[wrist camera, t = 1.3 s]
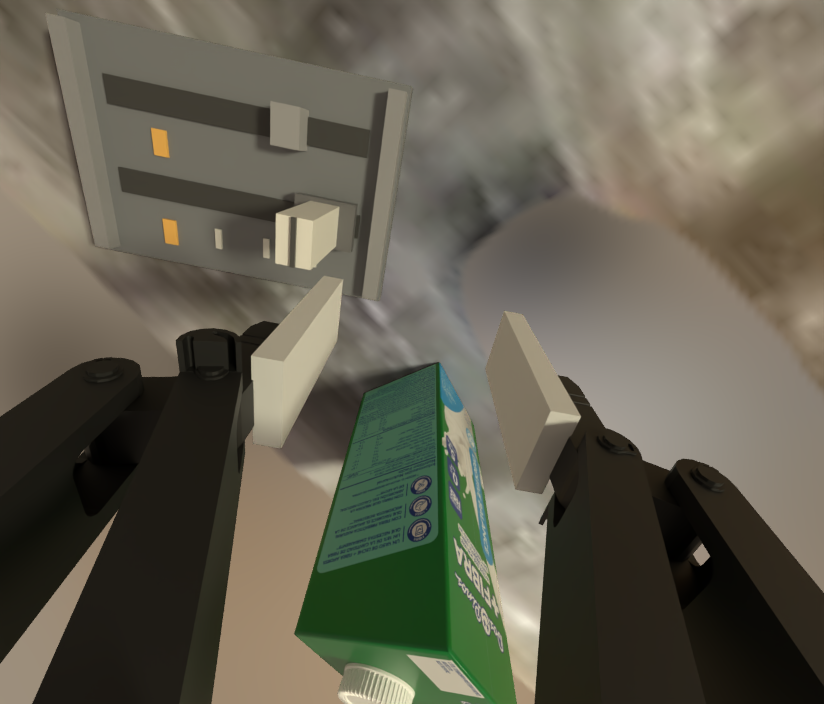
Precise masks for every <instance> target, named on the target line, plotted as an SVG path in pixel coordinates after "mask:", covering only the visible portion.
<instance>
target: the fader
mask: <svg viewBox="0 0 824 704" xmlns="http://www.w3.org/2000/svg"><path fill="white" fill-rule="evenodd" d="M357 208H358V204H355V203H350V202H345V201H340V200H335V199H330V198H325V197H320V196H315V195H311V194H306V193H301V192H298V193H295V201H294V207H292V208H289V209H287V210H284V211H281V212H278V213H276V248H275V263H276V264H281V265H286V266H289V267H291V268H295V267H297V268H302V269H307V270H311V269H312V268H313V267H314V266H315V265H316V264H318V263H319V262H320V261H321V260H322V259H323V258H324V257H325V256H326V255H327V254H328V253H329V252H330V251H331V250H338V251H343V252H348V253H351V252H352V251H353V245H354V235H355V226H356V217H357Z"/></svg>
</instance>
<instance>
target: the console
mask: <svg viewBox="0 0 824 704" xmlns="http://www.w3.org/2000/svg"><path fill="white" fill-rule="evenodd" d="M57 13H58V15H53V14H48V13H45V15H46V19H47V24H48V29H49V33H50V38H51V43H52V47H53V52H54V57H55V61H56V66H57V71H58V75H59V80H60V85H61V89H62V94H63V99H64V103H65V108H66V113H67V117H68V122H69V127H70V131H71V136H72V141H73V145H74V150H75V155H76V159H77V164H78V169H79V173H80V178H81V183H82V187H83V192H84V197H85V201H86V206H87V211H88V215H89V220H90V225H91V229H92V234H93V239H94V243H95V246H97V247H102V248H105V249H110V250H115V251H120V252H126V253H131V254H136V255H141V256H146V257H152V258H157V259H162V260H167V261H172V262H177V263H183V264H188V265H193V266H198V267H203V268H209V269H214V270H219V271H224V272H229V273H234V274H240V275H245V276H250V277H255V278H260V279H265V280H271V281H276V282H281V283H286V284H291V285H297V286H302V287H307V288H313V287H314V286H315V285H316V284H317V283H318V282H319V280H320V279H321V278H322V277H323V276H328V277H334V278H339V279H343V286H342V294H343V295H348V296H354V297H359V298H364V299H369V300H374V301H379V300H380V297H381V293H382V286H383V280H384V273H385V267H386V260H387V254H388V247H389V241H390V234H391V228H392V221H393V215H394V208H395V202H396V195H397V189H398V182H399V176H400V169H401V163H402V156H403V150H404V143H405V137H406V130H407V124H408V117H409V111H410V104H411V98H412V91H413V89H412V86H407V85H403V84H398V83H394V82H389V81H385V80H380V79H376V78H371V77H366V76H362V75H357V74H353V73H348V72H344V71H339V70H335V69H330V68H325V67H321V66H316V65H312V64H307V63H303V62H298V61H293V60H289V59H284V58H280V57H275V56H271V55H266V54H262V53H257V52H252V51H248V50H243V49H239V48H234V47H230V46H225V45H221V44H216V43H211V42H207V41H202V40H198V39H193V38H189V37H184V36H180V35H175V34H170V33H166V32H161V31H157V30H152V29H148V28H143V27H139V26H134V25H129V24H125V23H120V22H116V21H111V20H107V19H102V18H97V17H93V16H88V15H84V14H79V13H75V12H70V11H66V10H61V9H57ZM298 192H301V193H306V194H311V195H315V196H320V197H325V198H330V199H335V200H340V201H345V202H350V203H355V204H358V208H357V217H356V226H355V235H354V245H353V251H352V252H351V253H348V252H343V251H338V250H331V251H330V252H329V253H328V254H327V255H326V256H325V257H324V258H323V259H322V260H321V261H320V262H319V263H318V264H316V265H315V266H314V267H313V268H312V269H311V270H307V269H302V268H297V267H295V268H291V267H289V266H286V265H281V264H276V263H275V248H276V213H278V212H281V211H284V210H287V209H289V208H292V207H294V201H295V193H298Z"/></svg>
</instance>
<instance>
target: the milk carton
mask: <svg viewBox="0 0 824 704" xmlns="http://www.w3.org/2000/svg"><path fill="white" fill-rule="evenodd" d="M294 634H295V635H296V636H297V637H298V638H299V639H300V640H301V641H303V642H304V643H305V644H306V645H307V646H308V647H310V648H311V649H312V650H313V651H314V652H315V653H317V654H318V655H319V656H320V657H321V658H322V659H324V660H325V661H326V662H327V663H328V664H329V665H330V666H332V667H333V668H334V669H335V670H336V671H338V672H339V673H340V674H341V675H342V676H343V678H342V681H341V684H340V687H339V690H338V697H339V699H340V700H341V701H342V702H344V704H517V702H516V695H515V689H514V682H513V676H512V669H511V663H510V656H509V650H508V644H507V637H506V631H505V624H504V618H503V611H502V605H501V598H500V592H499V585H498V579H497V572H496V566H495V559H494V553H493V546H492V540H491V533H490V527H489V520H488V514H487V508H486V501H485V495H484V488H483V482H482V475H481V469H480V462H479V456H478V449H477V443H476V436H475V430H474V425H473V423H472V421H471V419H470V418H469V416H468V414H467V412H466V410H465V408H464V407H463V405H462V403H461V401H460V399H459V397H458V395H457V394H456V392H455V390H454V388H453V386H452V384H451V382H450V381H449V379H448V377H447V375H446V373H445V371H444V369H443V368H442V366H441V364H440V363H437V364H434V365H432V366H429V367H427V368H424V369H422V370H420V371H417V372H415V373H412V374H410V375H407V376H405V377H403V378H400V379H398V380H395V381H393V382H391V383H388V384H386V385H383V386H381V387H378V388H376V389H374V390H371V391H369V392H366V393H364V394H363V398H362V401H361V404H360V408H359V411H358V415H357V418H356V422H355V425H354V429H353V432H352V436H351V439H350V443H349V446H348V449H347V453H346V456H345V460H344V463H343V467H342V470H341V474H340V477H339V481H338V484H337V488H336V491H335V494H334V498H333V501H332V505H331V508H330V512H329V515H328V519H327V522H326V526H325V529H324V533H323V536H322V540H321V543H320V546H319V550H318V553H317V557H316V560H315V564H314V567H313V571H312V574H311V578H310V581H309V585H308V588H307V591H306V595H305V598H304V602H303V605H302V609H301V612H300V616H299V619H298V623H297V626H296V630H295V633H294Z"/></svg>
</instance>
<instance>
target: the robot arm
mask: <svg viewBox="0 0 824 704" xmlns="http://www.w3.org/2000/svg"><path fill="white" fill-rule="evenodd" d="M342 286H343V279H339V278H334V277H328V276H323V277H322V278H321V279H320V280H319V282H318V283H317V284H316V285H315V286H314V287H313V288H312V289H311V290H310V291H309V293H308V294H307V295H306V296H305V297H304V298H303V299H302V300H301V301H300V302H299V304H298V305H297V306H296V307H295V308H294V309H293V310H292V311H291V312H290V313H289V315H288V316H287V317H286V318H285V319H284V320H283V321H282V322H281V323H280V324H277V323H272V322H266V321H263V322H260V323H258V324H255V325H253V326H250V327H249V328H248V329H247V330H246V331H245V332H244V333H243V335H241V336H240V337H239V336H238V335H237V334H235V333H233V332H230V331H228V330H223V329H215V328H212V329H199V330H194V331H190V332H187V333H185V334H183V335H181V336H180V337H179V338H178V339H177V340H176V346H177V354H178V362H179V370H180V373H179V375H178V376H175V377H142V375H141V370H140V365H139V364H137V363H136V362H134V361H133V360H129V359H125V358H112V357H110V358H103V359H102V358H99V359H94V360H92V361H89V362H85V363H81V364H80V365H77V366H75V367H74V368H72V369H70V370H68V371H67V372H65V373H64V374H62V375H61V376H60V377H58V378H56V379H55V380H54V381H52V382H51V383H49V384H48V385H46V386H45V387H43V388H42V389H40V390H39V391H37V392H36V393H34V394H33V395H31V396H30V397H29V398H27V399H26V400H24V401H23V402H21V403H20V404H18V405H17V406H16V407H14V408H12V409H11V410H9V411H8V412H6V413H5V414H3V415H2V416H1V417H0V663H1V662H2V661H3V659H4V658H5V657H6V655H7V654H8V653H9V652H10V650H11V649H12V648H13V646H14V645H15V643H16V642H17V641H18V640H19V638H20V637H21V636H22V635H23V633H24V632H25V631H26V629H27V628H28V627H29V625H30V624H31V623H32V621H33V620H34V619H35V618H36V616H37V615H38V614H39V612H40V611H41V609H42V608H43V607H44V606H45V605H46V603H47V602H48V601H49V599H50V598H51V597H52V595H53V594H54V592H55V591H56V590H57V589H58V588H59V586H60V585H61V584H62V582H63V581H64V579H65V578H66V577H67V576H68V575H69V573H70V572H71V571H72V569H73V568H74V567H75V565H76V564H77V563H78V562H79V560H80V559H81V558H82V556H83V555H84V554H85V552H86V551H87V550H88V548H89V547H90V546H91V545H92V543H93V542H94V541H95V539H96V538H97V537H98V535H99V534H100V533H101V532H102V530H103V529H104V528H105V526H106V525H107V524H108V522H109V521H110V520H111V518H112V517H113V516H114V515H115V513H116V512H117V511H118V512H117V514H116V517H115V519H114V521H113V524H112V526H111V528H110V530H109V532H108V535H107V537H106V539H105V541H104V544H103V546H102V548H101V550H100V553H99V555H98V557H97V559H96V562H95V564H94V566H93V568H92V571H91V573H90V575H89V577H88V580H87V582H86V584H85V586H84V589H83V591H82V593H81V595H80V598H79V600H78V602H77V604H76V607H75V609H74V611H73V613H72V616H71V618H70V620H69V622H68V625H67V627H66V629H65V632H64V634H63V636H62V638H61V640H60V643H59V645H58V647H57V649H56V652H55V654H54V656H53V658H52V661H51V663H50V665H49V667H48V670H47V672H46V674H45V677H44V679H43V681H42V683H41V685H40V688H39V690H38V692H37V694H36V697H35V699H34V701H33V703H32V704H211V702H212V694H213V687H214V679H215V672H216V665H217V657H218V650H219V642H220V635H221V627H222V619H223V612H224V605H225V598H226V590H227V583H228V575H229V567H230V561H231V553H232V546H233V539H234V531H235V524H236V516H237V508H238V501H239V494H240V487H241V479H242V471H243V464H244V457H245V439H246V437H247V436H248V434H249V433H250V431H251V430H252V428H253V444H257V445H263V446H268V447H274V448H280V449H281V448H282V446H283V444H284V442H285V440H286V439H287V437H288V435H289V433H290V431H291V429H292V427H293V425H294V423H295V421H296V419H297V417H298V415H299V413H300V411H301V410H302V408H303V406H304V404H305V402H306V400H307V398H308V396H309V394H310V392H311V390H312V388H313V386H314V384H315V382H316V380H317V379H318V377H319V375H320V373H321V371H322V369H323V367H324V365H325V363H326V361H327V359H328V357H329V355H330V353H331V351H332V349H333V348H334V346H335V344H336V342H337V335H338V325H339V315H340V306H341V296H342ZM485 370H486V374H487V378H488V382H489V386H490V390H491V394H492V398H493V402H494V406H495V410H496V414H497V418H498V422H499V426H500V430H501V434H502V438H503V442H504V446H505V450H506V454H507V458H508V462H509V466H510V470H511V474H512V478H513V482H514V486H515V489H516V490H521V491H527V492H533V493H539V494H542V493H543V491H544V489H545V487H546V485H547V483H548V481H549V479H550V480H551V483H552V485H553V488H554V491H555V492H554V494H553V496H552V498H551V500H550V501H549V503H548V505H547V507H546V509H545V511H544V513H543V515H542V517H541V519H540V521H539V524H541V525H543V524H544V522H545V520H546V519H547V534H546V548H545V562H544V577H543V591H542V605H541V619H540V634H539V648H538V662H537V677H536V691H535V704H824V593H823V591H822V590H821V589H820V588H819V587H818V586H817V584H816V583H815V582H814V581H813V579H812V578H811V577H810V576H809V575H808V574H807V572H806V571H805V570H804V569H803V567H802V566H801V565H800V564H799V563H798V561H797V560H796V559H795V558H794V556H793V555H792V554H791V553H790V552H789V550H788V549H787V548H786V547H785V546H784V544H783V543H782V542H781V541H780V540H779V538H778V537H777V536H776V535H775V534H774V532H773V531H772V530H771V529H770V527H769V526H768V525H767V524H766V523H765V521H764V520H763V519H762V518H761V517H760V515H759V514H758V513H757V512H756V510H754V508H753V507H752V506H751V504H750V503H749V502H748V501H747V500H746V498H745V497H744V496H743V495H742V494H741V492H740V491H739V490H738V489H737V488H736V487H735V485H734V484H733V483H731V481H730V480H728V478H726V477H725V476H723V475H722V474H721V473H719V471H718V470H716V469H714V468H713V467H709V465H707V464H704V463H700V462H697V461H694V460H689V459H681V460H678V461H677V462H676V463H675V465H674V466H673V468H672V469H671V470H670V471H669V470H667V469H664V468H661V467H659V466H656V465H653V464H651V463H648V462H646V461H643V460H642V456H641V454H640V452H639V450H638V448H637V447H636V446H635V445H634V444H633V443H632V442H631V441H630V440H628V439H627V438H625V437H624V436H622V435H621V434H619V433H617V432H615V431H612V430H610V429H606V428H605V427H604V425H603V424H602V422H601V421H600V419H599V417H598V416H597V414H596V413H595V411H594V410H593V408H592V407H590V403H589V402H588V400H587V399H586V398H585V395H584V394H583V392H582V391H581V389H580V388H579V386H577V385H576V384H575V383H574V382H573V381H572V380H570V379H569V378H568V377H564V376H559V375H557V373H556V372H555V370H554V369H553V367H552V365H551V363H550V361H549V359H548V358H547V356H546V354H545V352H544V351H543V349H542V347H541V346H540V344H539V343H538V340H537V339H536V337H535V335H534V333H533V332H532V330H531V328H530V326H529V325H528V323H527V321H526V319H525V318H524V316H523V314H518V313H513V312H508V311H504V313H503V316H502V319H501V322H500V325H499V329H498V332H497V335H496V338H495V341H494V344H493V347H492V350H491V353H490V356H489V359H488V362H487V365H486V368H485ZM83 450H84V452H83V453H82V454H81V452H82V451H83ZM80 454H81V455H80ZM79 455H80V456H79ZM78 456H79V457H78ZM118 509H119V510H118ZM702 543H703V545H704V547H705V548H706V550H707V551H708V553H709V555H710V557H709V559H708V560H707V561H706V562H705V563H704V564H703V565H701V566H700V565H699V563H698V562H697V561H696V559H695V557H694V556H693V553H694V552H695V551H696V550H697V549H698V547H699V546H700V545H701V544H702Z"/></svg>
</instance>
